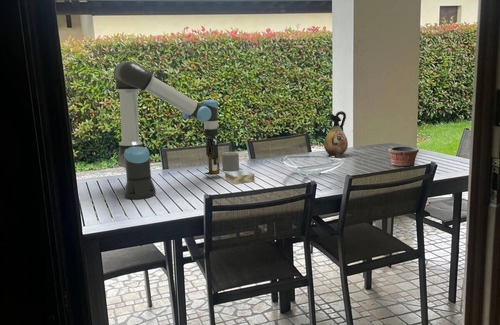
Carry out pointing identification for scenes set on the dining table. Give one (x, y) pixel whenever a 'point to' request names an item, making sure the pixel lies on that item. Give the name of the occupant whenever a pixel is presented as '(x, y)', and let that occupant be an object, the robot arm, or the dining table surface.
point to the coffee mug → (230, 161)
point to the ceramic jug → (336, 137)
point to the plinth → (239, 176)
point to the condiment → (211, 166)
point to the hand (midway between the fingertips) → (212, 169)
